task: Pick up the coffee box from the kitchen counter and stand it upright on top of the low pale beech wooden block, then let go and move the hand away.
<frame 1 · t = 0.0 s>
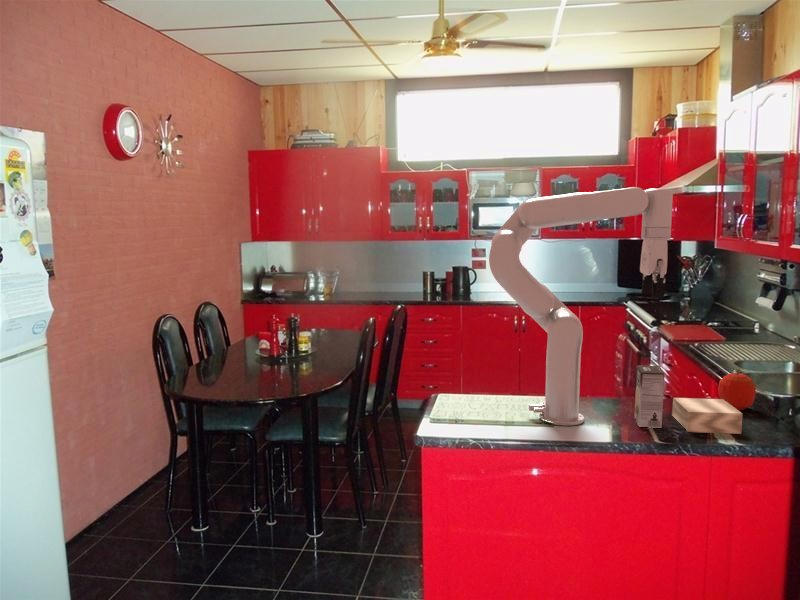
hand: (652, 295, 181), 37 cm above the countertop, tool pointing down, fingers open, 9 cm apart
apple: (735, 408, 200), on the countertop
beech block: (705, 425, 184), on the countertop
coffee box: (647, 424, 185), on the countertop
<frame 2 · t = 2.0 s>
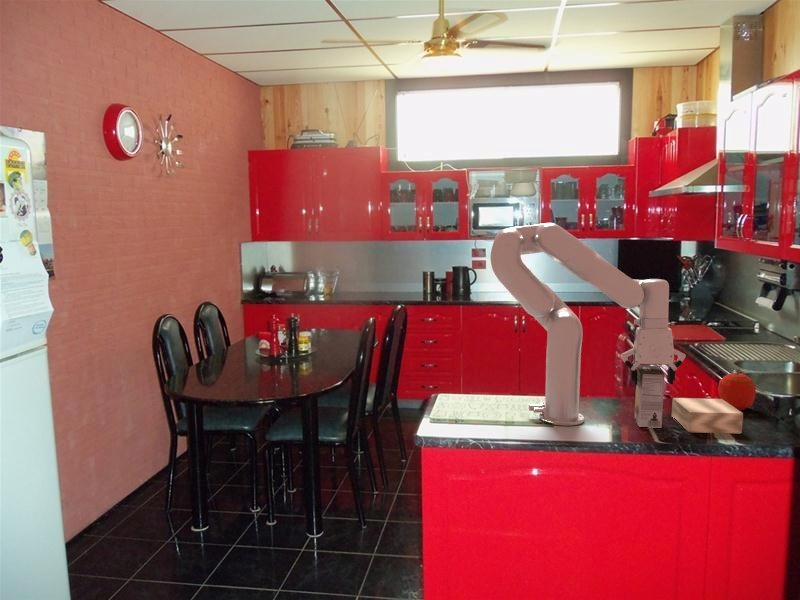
hand: (652, 383, 183), 12 cm above the countertop, tool pointing down, fingers open, 9 cm apart
nothing on the countertop moved.
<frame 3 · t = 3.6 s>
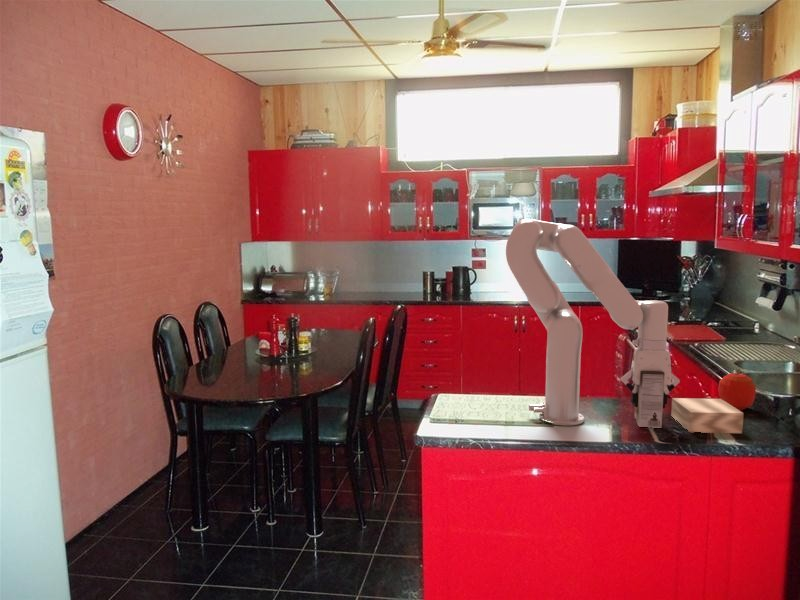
hand: (648, 405, 184), 5 cm above the countertop, tool pointing down, fingers closed on coffee box, 6 cm apart
coffee box: (647, 424, 185), on the countertop, touching gripper
everything else where it was.
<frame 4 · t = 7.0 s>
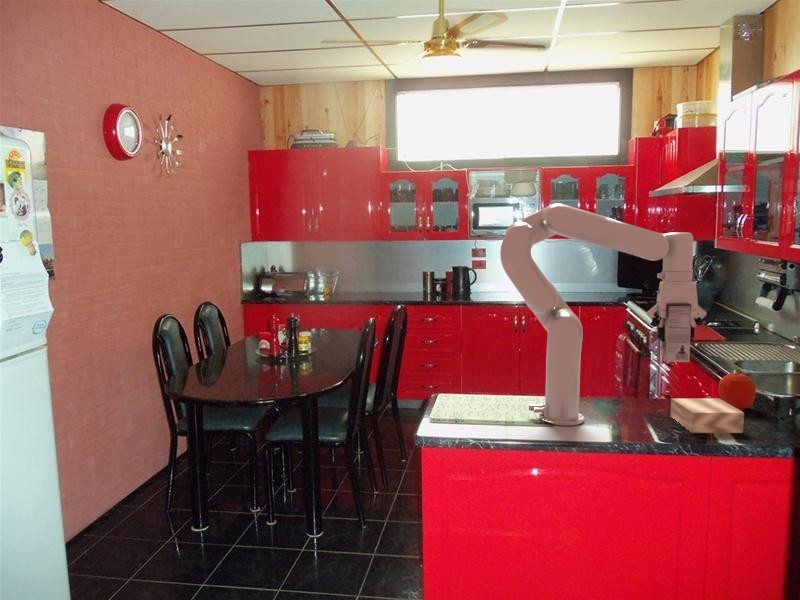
hand: (675, 340, 182), 24 cm above the countertop, tool pointing down, fingers closed on coffee box, 6 cm apart
coffee box: (674, 359, 182), point 19 cm above the countertop, touching gripper
everything else where it was.
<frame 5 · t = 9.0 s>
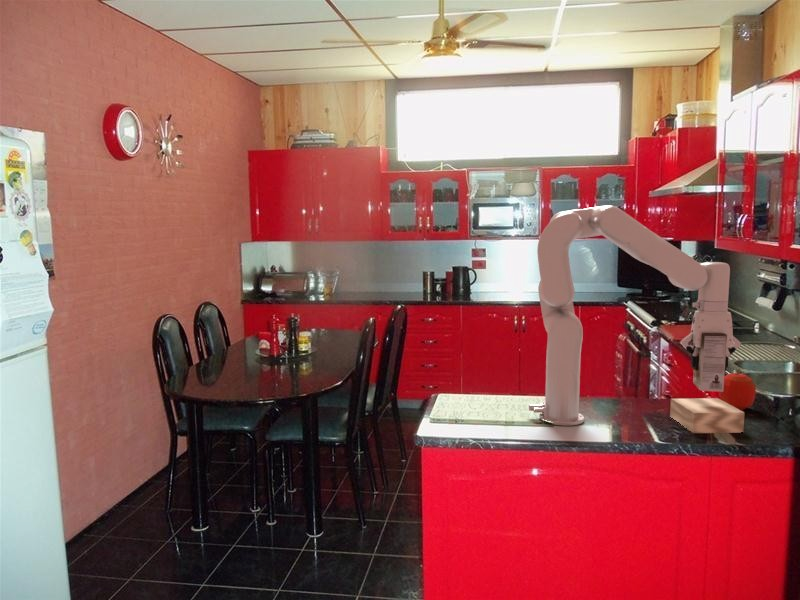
hand: (708, 369, 182), 16 cm above the countertop, tool pointing down, fingers closed on coffee box, 6 cm apart
coffee box: (707, 387, 183), point 11 cm above the countertop, touching gripper
everything else where it was.
when the fingers open (12 cm above the countertop, at t = 10.6 s): coffee box drops 2 cm, resting on beech block.
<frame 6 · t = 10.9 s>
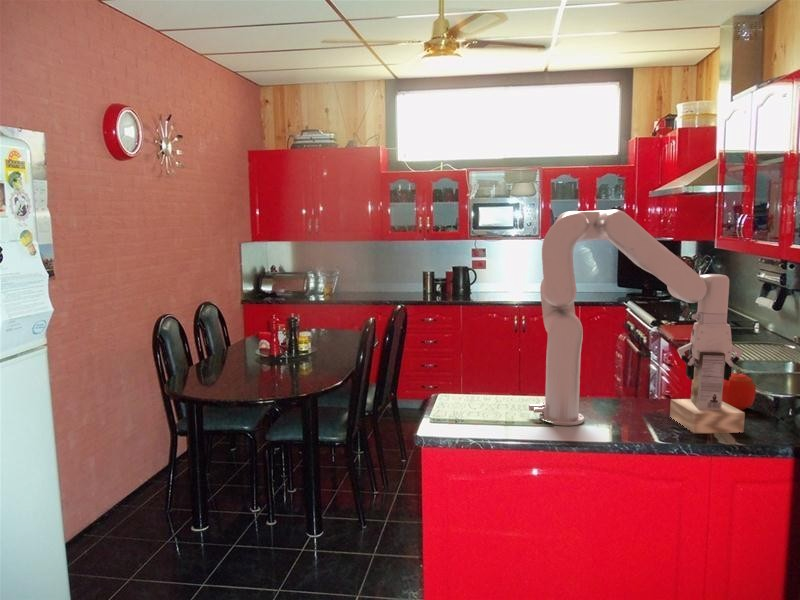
hand: (708, 378, 183), 13 cm above the countertop, tool pointing down, fingers open, 9 cm apart
beech block: (705, 426, 184), on the countertop, touching coffee box
coffee box: (705, 406, 184), point 5 cm above the countertop, touching beech block
everything else where it was.
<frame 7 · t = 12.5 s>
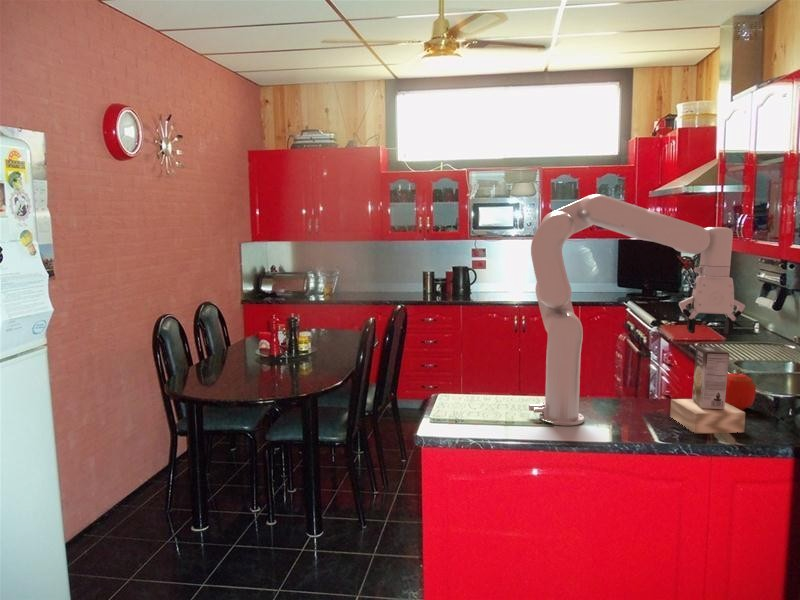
hand: (709, 333, 181), 26 cm above the countertop, tool pointing down, fingers open, 9 cm apart
beech block: (705, 426, 184), on the countertop
coffee box: (707, 405, 184), point 6 cm above the countertop
everything else where it was.
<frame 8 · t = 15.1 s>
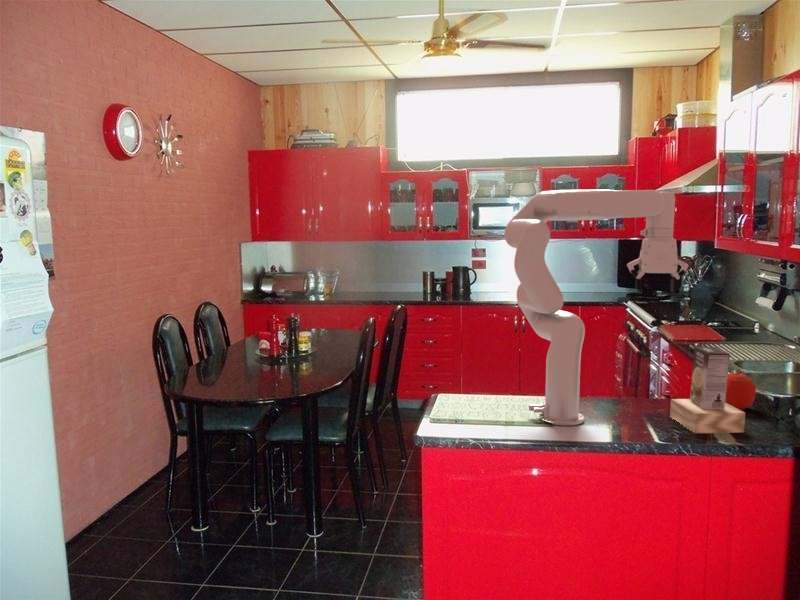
hand: (656, 292, 193), 36 cm above the countertop, tool pointing down, fingers open, 9 cm apart
beech block: (705, 426, 184), on the countertop, touching coffee box
coffee box: (706, 405, 184), point 5 cm above the countertop, touching beech block
everything else where it was.
at the end: coffee box inside the target area on the beech block (0.3 cm from its centre), point 5.8 cm above the beech block's base; coffee box tilted 0°; the gripper is holding nothing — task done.
